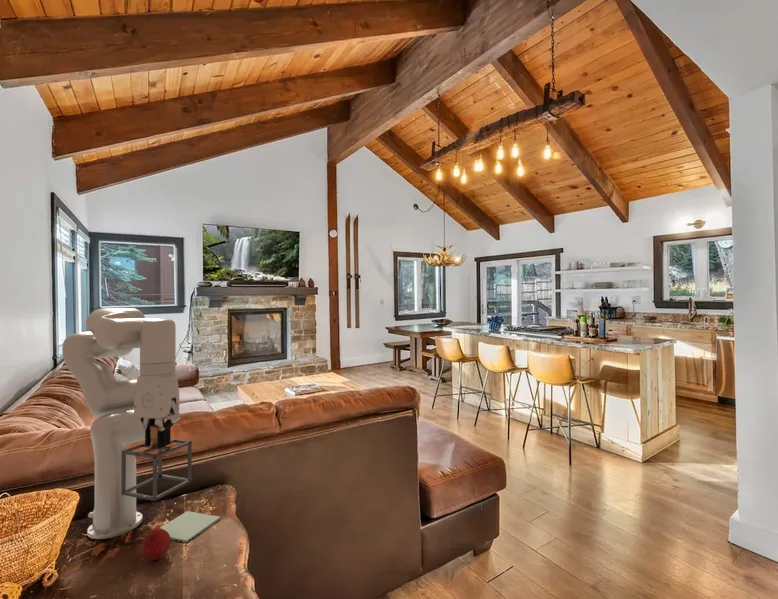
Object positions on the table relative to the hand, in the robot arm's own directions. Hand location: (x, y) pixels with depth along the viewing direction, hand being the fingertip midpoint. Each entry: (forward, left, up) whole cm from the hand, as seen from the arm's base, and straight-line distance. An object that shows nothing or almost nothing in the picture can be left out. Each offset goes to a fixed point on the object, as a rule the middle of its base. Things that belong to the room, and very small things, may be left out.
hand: (157, 444), depth 95 cm
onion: (0, -1, -27) cm, 27 cm away
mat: (-4, +13, -27) cm, 30 cm away
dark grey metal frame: (0, 0, -10) cm, 10 cm away
